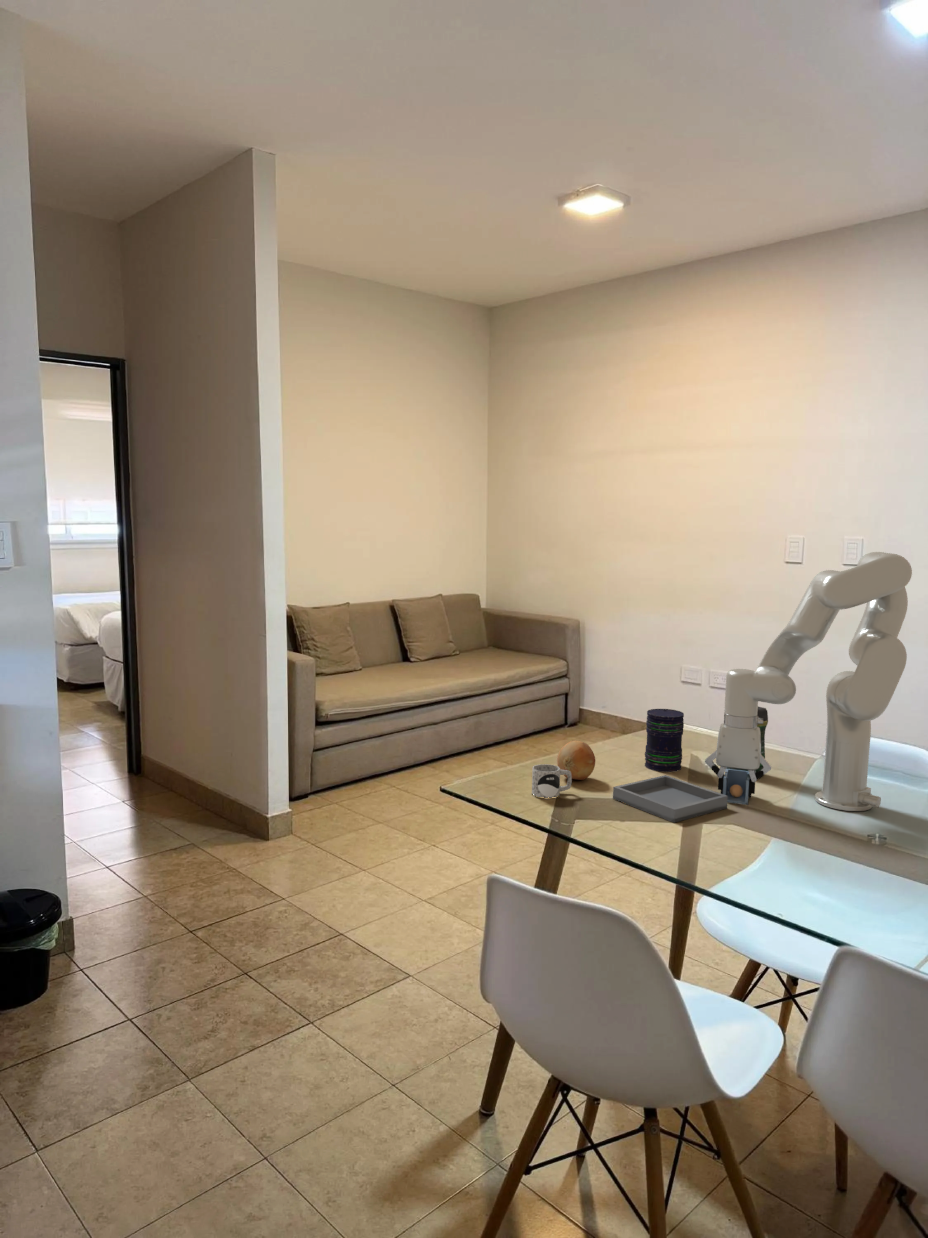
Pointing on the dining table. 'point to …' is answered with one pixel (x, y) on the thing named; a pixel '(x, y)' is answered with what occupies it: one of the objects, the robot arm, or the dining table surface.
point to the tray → (670, 798)
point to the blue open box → (739, 779)
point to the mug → (548, 780)
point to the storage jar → (664, 740)
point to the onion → (576, 759)
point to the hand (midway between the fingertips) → (736, 794)
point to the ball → (736, 791)
